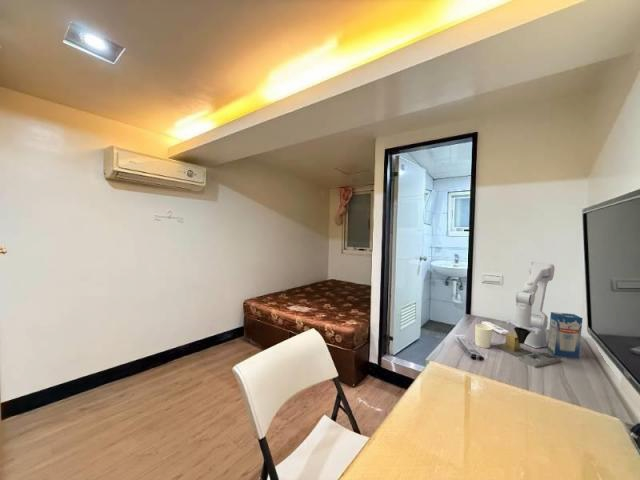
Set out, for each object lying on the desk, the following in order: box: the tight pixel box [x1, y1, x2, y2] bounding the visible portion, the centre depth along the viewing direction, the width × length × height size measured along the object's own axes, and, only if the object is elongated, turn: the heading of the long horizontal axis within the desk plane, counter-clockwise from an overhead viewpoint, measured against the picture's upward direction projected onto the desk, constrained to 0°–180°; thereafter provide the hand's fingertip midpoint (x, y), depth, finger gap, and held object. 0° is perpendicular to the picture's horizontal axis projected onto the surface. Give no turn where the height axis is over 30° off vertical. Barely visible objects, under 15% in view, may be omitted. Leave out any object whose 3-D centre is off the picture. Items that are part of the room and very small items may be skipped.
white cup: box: [474, 323, 494, 349], centre depth 141 cm, size 8×8×10 cm
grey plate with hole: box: [518, 350, 562, 368], centre depth 127 cm, size 18×7×2 cm, turn 110°
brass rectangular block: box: [505, 333, 521, 351], centre depth 138 cm, size 4×4×7 cm
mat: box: [492, 342, 534, 358], centre depth 138 cm, size 12×12×1 cm
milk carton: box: [547, 311, 583, 360], centre depth 134 cm, size 10×6×20 cm, turn 76°
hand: (521, 342), depth 134 cm, fingers closed
